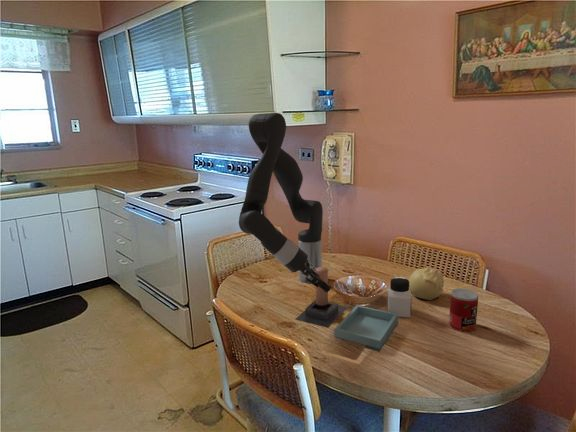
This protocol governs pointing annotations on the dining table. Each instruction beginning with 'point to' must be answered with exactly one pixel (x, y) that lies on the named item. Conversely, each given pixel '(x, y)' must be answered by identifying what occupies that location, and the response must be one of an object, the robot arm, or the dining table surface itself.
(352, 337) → the tray
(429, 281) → the pale yellow round lump
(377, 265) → the dining table surface
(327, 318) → the holder
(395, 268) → the dining table surface
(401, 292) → the medicine bottle
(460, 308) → the canned food
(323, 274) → the dowel
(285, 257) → the robot arm
